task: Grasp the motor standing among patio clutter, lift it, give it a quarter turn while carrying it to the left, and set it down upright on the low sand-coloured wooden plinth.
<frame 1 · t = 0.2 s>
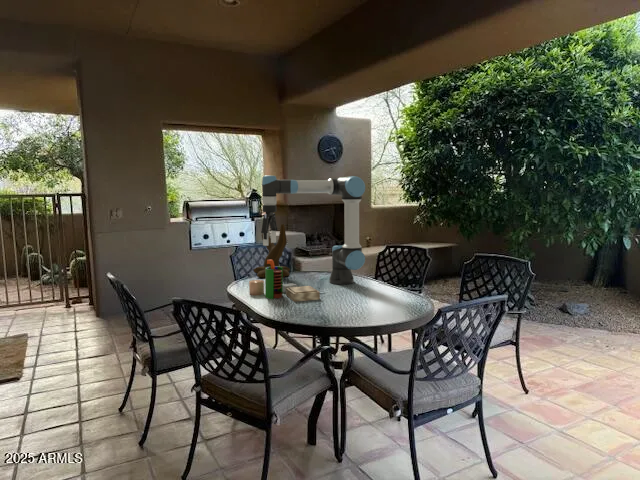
hand: (269, 244, 235), 28 cm above the table, fingers open, 13 cm apart
motor: (273, 297, 233), on the table
wooden stand: (271, 274, 295), on the table
plinth: (302, 297, 231), on the table
grey stone block: (288, 291, 245), on the table
tan rounded cylinder: (256, 293, 240), on the table
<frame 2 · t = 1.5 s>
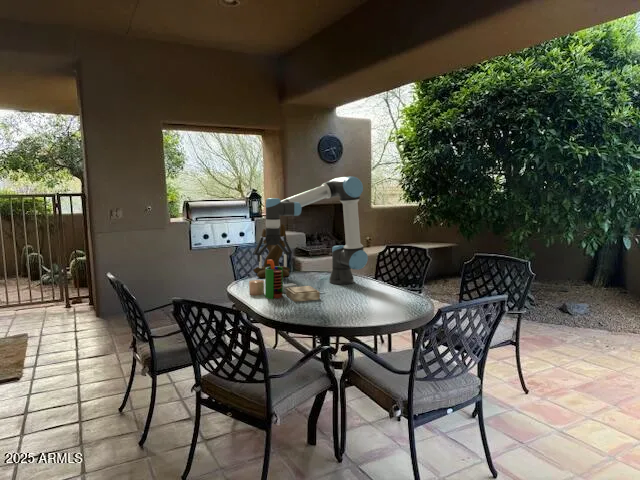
hand: (272, 267, 231), 16 cm above the table, fingers open, 13 cm apart
nothing on the table moved.
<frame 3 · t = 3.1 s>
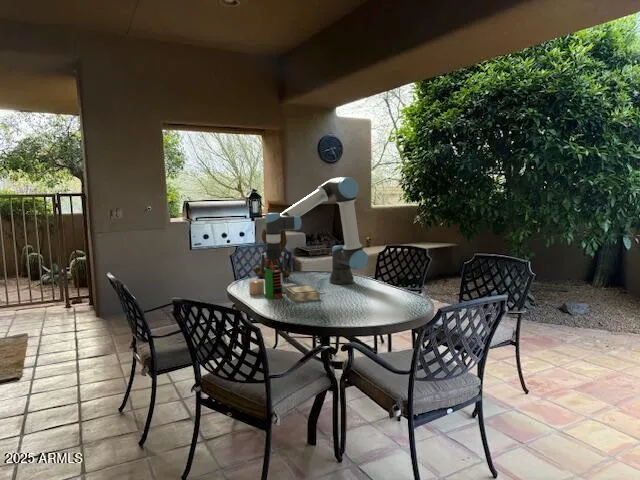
hand: (274, 284, 232), 7 cm above the table, fingers closed on motor, 7 cm apart
motor: (273, 296, 233), on the table, touching gripper
everything else where it was.
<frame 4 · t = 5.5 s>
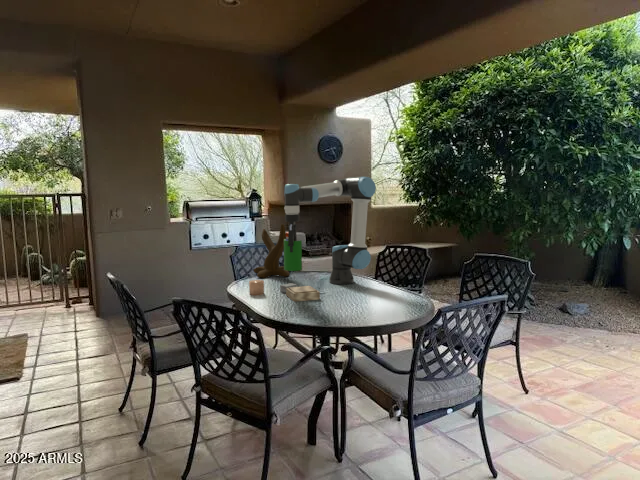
hand: (292, 257, 230), 22 cm above the table, fingers closed on motor, 7 cm apart
motor: (292, 269, 230), point 15 cm above the table, touching gripper
everything else where it was.
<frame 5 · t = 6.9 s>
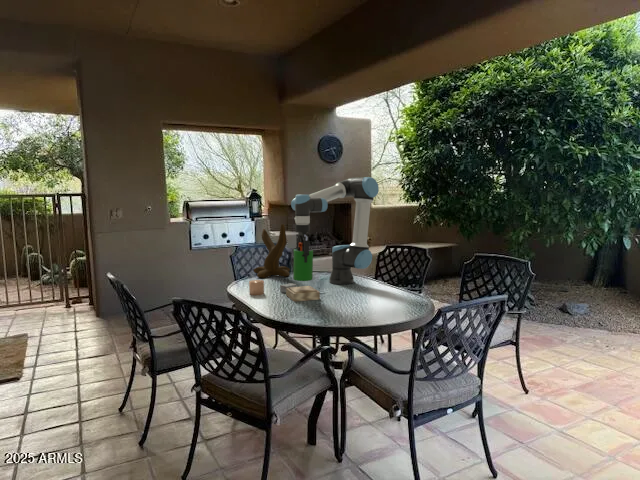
hand: (302, 267, 229), 16 cm above the table, fingers closed on motor, 7 cm apart
motor: (302, 279, 230), point 10 cm above the table, touching gripper
everything else where it was.
when the fingers open (12 cm above the table, at t = 7.9 s): motor drops 1 cm, resting on plinth.
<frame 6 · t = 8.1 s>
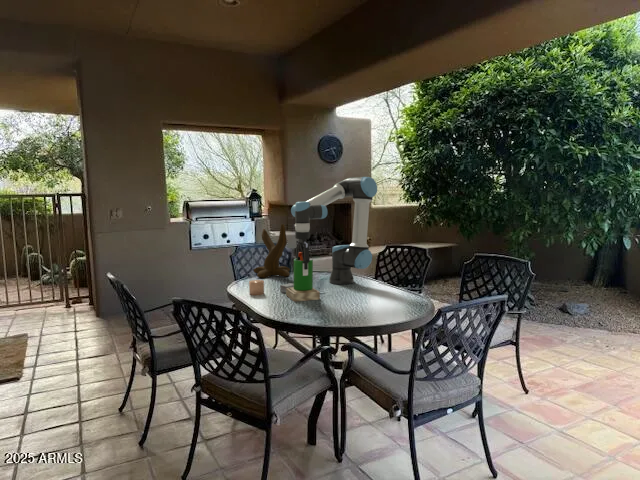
hand: (302, 273, 230), 13 cm above the table, fingers open, 8 cm apart
motor: (302, 289, 231), point 4 cm above the table, touching gripper, plinth
everything else where it was.
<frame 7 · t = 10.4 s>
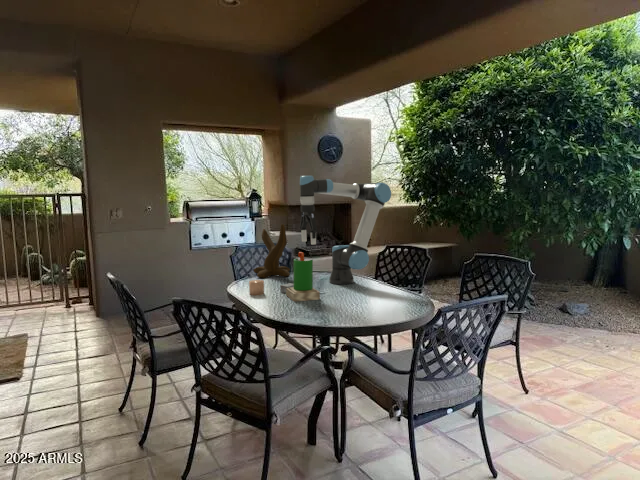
hand: (308, 243, 239), 28 cm above the table, fingers open, 13 cm apart
motor: (302, 289, 231), point 4 cm above the table, touching plinth
everything else where it was.
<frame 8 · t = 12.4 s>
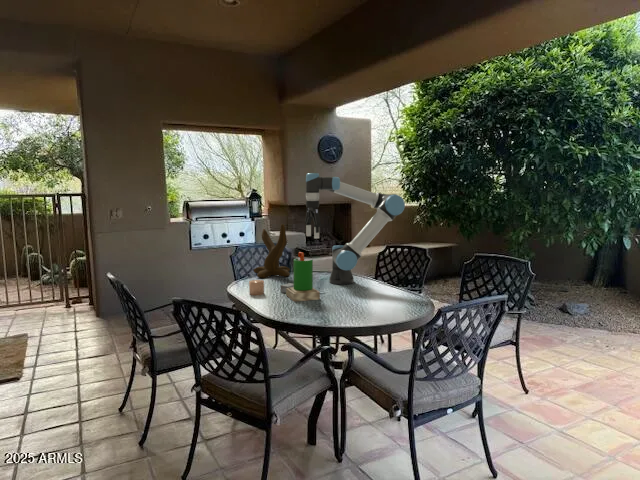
hand: (312, 237, 251), 30 cm above the table, fingers open, 13 cm apart
nothing on the table moved.
at the end: motor inside the target area on the plinth (0.1 cm from its centre), point 4.4 cm above the plinth's base; motor tilted 0°; the gripper is holding nothing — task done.
